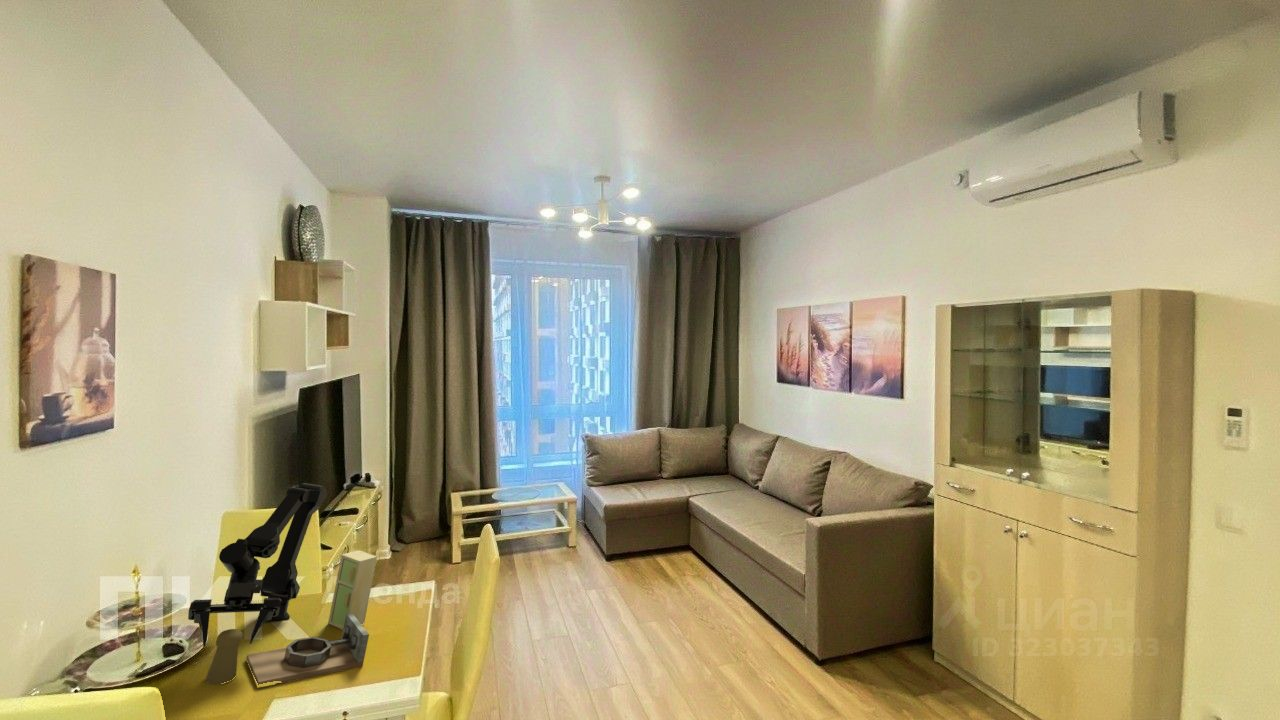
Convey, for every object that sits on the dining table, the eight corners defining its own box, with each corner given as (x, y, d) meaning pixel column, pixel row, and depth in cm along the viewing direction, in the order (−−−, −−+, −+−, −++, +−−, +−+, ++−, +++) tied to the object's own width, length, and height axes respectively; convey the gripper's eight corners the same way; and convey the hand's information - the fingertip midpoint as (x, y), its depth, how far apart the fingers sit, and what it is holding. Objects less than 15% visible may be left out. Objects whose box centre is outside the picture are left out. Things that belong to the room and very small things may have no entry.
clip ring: (281, 652, 146) (285, 633, 146) (346, 641, 157) (349, 623, 158) (290, 670, 139) (294, 650, 140) (357, 657, 150) (361, 638, 151)
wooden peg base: (245, 660, 143) (253, 627, 143) (345, 642, 159) (352, 612, 160) (257, 688, 133) (265, 652, 133) (362, 666, 149) (369, 634, 150)
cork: (219, 687, 131) (229, 640, 131) (198, 680, 132) (209, 633, 132) (242, 675, 136) (252, 630, 137) (222, 668, 138) (232, 623, 138)
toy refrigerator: (324, 624, 167) (339, 554, 169) (345, 616, 174) (359, 549, 175) (343, 633, 164) (358, 561, 166) (364, 625, 171) (378, 556, 172)
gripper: (199, 566, 135) (179, 634, 125) (288, 566, 145) (277, 629, 134) (197, 586, 141) (178, 652, 131) (283, 585, 151) (272, 646, 141)
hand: (227, 644), depth 134 cm, fingers open, 9 cm apart
